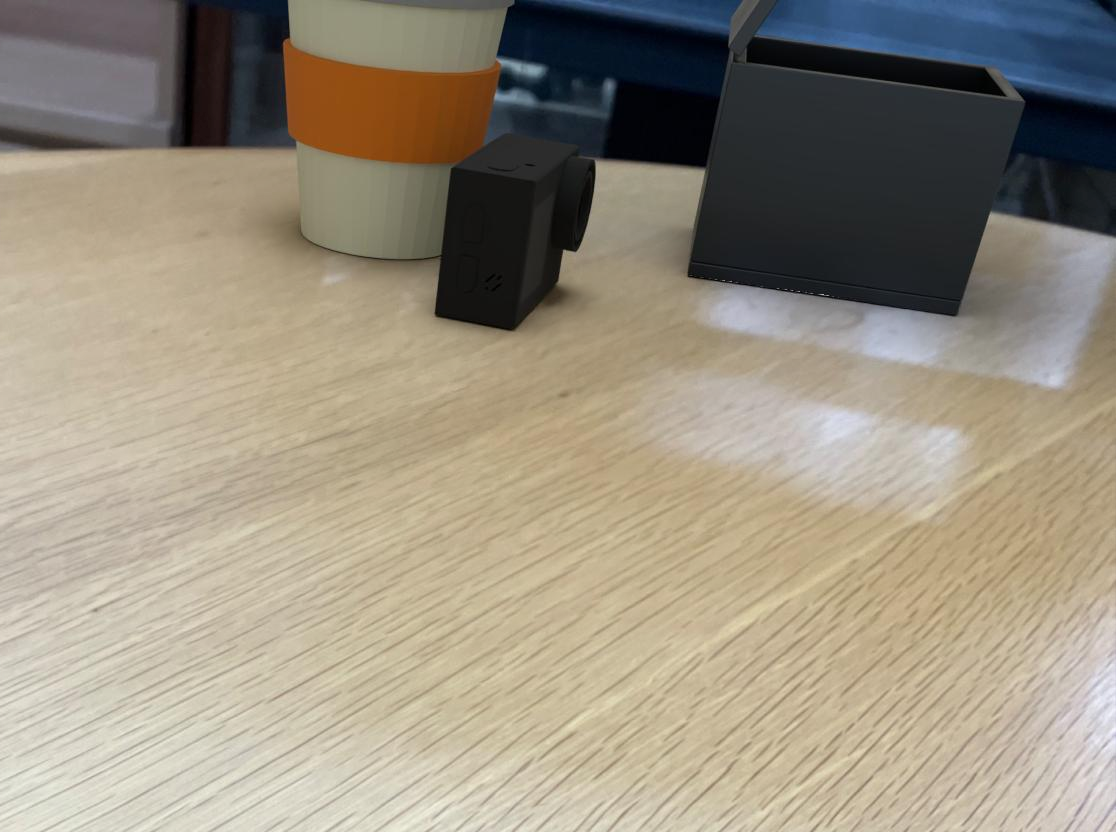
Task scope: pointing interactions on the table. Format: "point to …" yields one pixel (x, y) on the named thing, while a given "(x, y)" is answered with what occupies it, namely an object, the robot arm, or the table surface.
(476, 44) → the reusable coffee cup
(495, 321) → the digital camera
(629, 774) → the table surface
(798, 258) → the bin
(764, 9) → the bin lid
